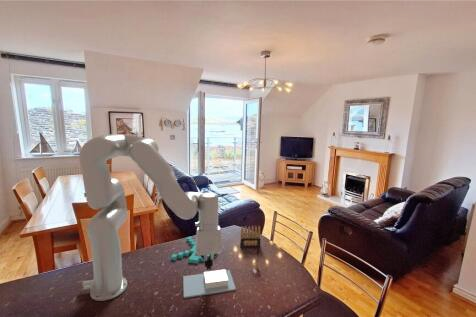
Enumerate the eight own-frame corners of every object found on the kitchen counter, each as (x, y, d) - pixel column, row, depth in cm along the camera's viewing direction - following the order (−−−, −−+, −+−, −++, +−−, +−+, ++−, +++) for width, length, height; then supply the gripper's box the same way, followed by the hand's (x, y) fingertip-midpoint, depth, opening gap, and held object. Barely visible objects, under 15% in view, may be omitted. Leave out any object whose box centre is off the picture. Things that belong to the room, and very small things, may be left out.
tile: (205, 283, 90) (228, 279, 92) (204, 272, 97) (225, 269, 99) (205, 288, 91) (228, 285, 93) (204, 277, 97) (225, 274, 100)
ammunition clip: (259, 245, 125) (260, 224, 123) (260, 247, 123) (261, 226, 121) (240, 246, 124) (240, 224, 122) (240, 247, 122) (240, 226, 120)
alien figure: (171, 260, 110) (211, 266, 106) (171, 256, 110) (211, 262, 106) (188, 240, 130) (222, 244, 126) (188, 236, 129) (222, 240, 125)
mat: (183, 298, 86) (183, 296, 86) (183, 277, 98) (183, 276, 98) (235, 290, 91) (235, 288, 91) (229, 271, 103) (229, 270, 103)
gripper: (189, 230, 85) (190, 276, 88) (229, 227, 89) (228, 270, 92) (188, 222, 92) (189, 264, 95) (225, 219, 96) (225, 260, 99)
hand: (208, 267), depth 93 cm, fingers closed
